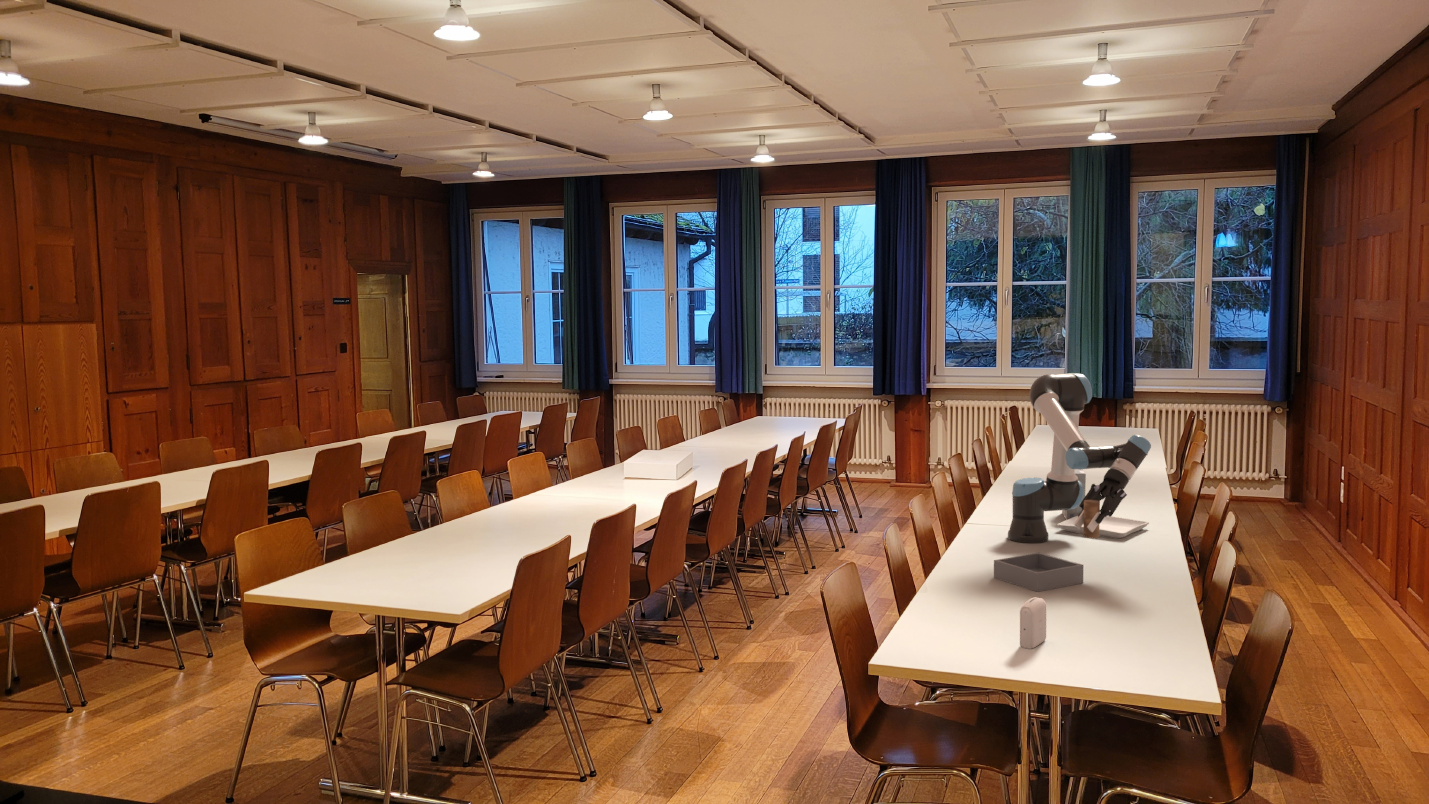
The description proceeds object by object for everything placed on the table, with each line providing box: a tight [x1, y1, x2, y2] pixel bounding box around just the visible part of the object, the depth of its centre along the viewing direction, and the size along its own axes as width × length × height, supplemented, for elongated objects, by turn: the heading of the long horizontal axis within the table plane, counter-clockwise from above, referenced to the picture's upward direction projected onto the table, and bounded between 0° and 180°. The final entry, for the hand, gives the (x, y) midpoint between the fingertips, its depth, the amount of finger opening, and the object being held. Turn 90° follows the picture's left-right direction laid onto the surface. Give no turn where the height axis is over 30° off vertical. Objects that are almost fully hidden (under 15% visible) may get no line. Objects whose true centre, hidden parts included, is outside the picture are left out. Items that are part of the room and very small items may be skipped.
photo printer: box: [1019, 597, 1047, 650], centre depth 277 cm, size 10×4×12 cm, turn 140°
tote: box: [993, 552, 1084, 593], centre depth 339 cm, size 20×20×6 cm
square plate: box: [1056, 516, 1150, 539], centre depth 409 cm, size 27×27×4 cm
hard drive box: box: [1061, 469, 1087, 520], centre depth 435 cm, size 16×8×20 cm, turn 168°
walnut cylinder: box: [1082, 500, 1101, 539], centre depth 343 cm, size 5×5×12 cm
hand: (1083, 527), depth 342 cm, fingers closed on walnut cylinder, 5 cm apart
